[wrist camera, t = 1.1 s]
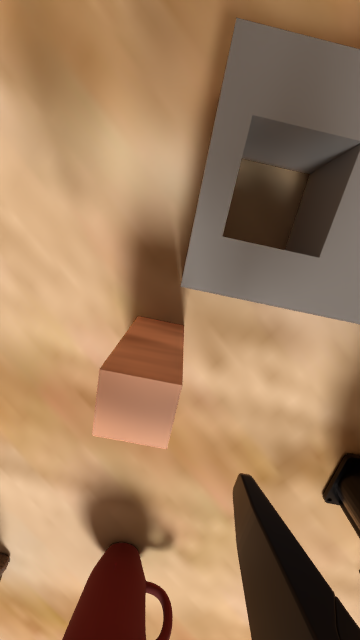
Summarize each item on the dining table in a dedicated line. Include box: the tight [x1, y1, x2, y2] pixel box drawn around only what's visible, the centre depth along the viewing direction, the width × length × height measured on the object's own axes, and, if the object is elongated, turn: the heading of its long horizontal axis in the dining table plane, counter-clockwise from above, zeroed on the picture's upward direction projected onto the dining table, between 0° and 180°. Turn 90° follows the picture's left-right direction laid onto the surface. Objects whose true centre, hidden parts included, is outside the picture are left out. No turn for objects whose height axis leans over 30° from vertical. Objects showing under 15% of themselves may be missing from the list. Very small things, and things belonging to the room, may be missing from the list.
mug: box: [62, 542, 172, 640], centre depth 24 cm, size 10×8×10 cm
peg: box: [92, 316, 184, 449], centre depth 16 cm, size 4×4×9 cm
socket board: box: [181, 18, 360, 324], centre depth 14 cm, size 12×18×5 cm, turn 78°
